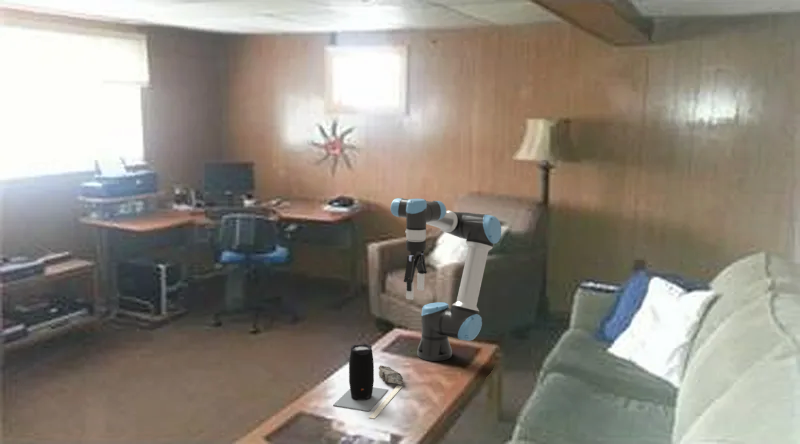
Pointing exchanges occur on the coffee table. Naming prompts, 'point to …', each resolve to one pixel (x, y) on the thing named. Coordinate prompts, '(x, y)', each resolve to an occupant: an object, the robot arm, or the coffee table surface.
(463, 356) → the coffee table surface
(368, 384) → the portable speaker
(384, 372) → the mineral rock
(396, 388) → the strip
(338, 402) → the mat
